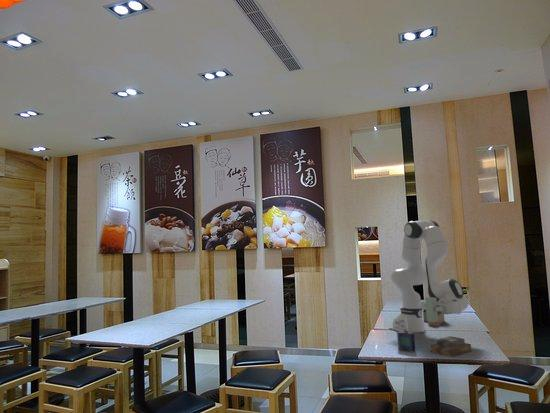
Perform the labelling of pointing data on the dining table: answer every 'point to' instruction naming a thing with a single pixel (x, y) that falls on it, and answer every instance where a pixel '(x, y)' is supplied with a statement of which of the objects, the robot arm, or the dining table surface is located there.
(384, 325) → the dining table surface
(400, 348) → the flask
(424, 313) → the toy building blocks
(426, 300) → the sage column
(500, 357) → the dining table surface
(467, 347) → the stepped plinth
